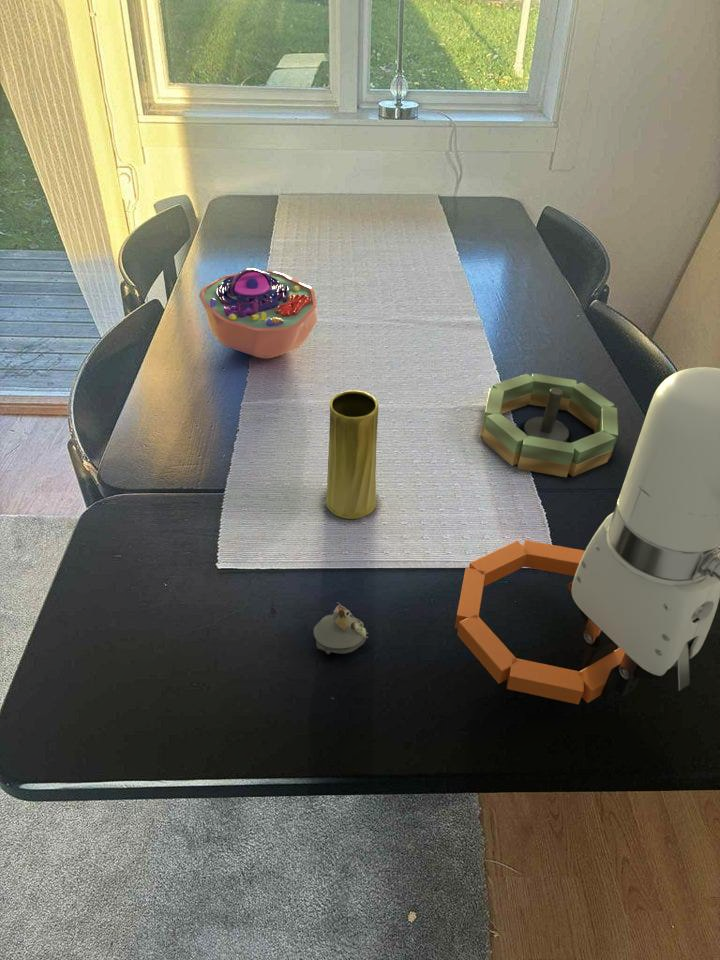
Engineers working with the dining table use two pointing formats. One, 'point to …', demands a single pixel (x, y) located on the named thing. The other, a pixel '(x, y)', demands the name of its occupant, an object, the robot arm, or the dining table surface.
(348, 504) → the vase
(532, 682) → the orange ring
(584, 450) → the ring stack
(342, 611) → the figurine
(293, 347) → the cell model
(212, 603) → the dining table surface
